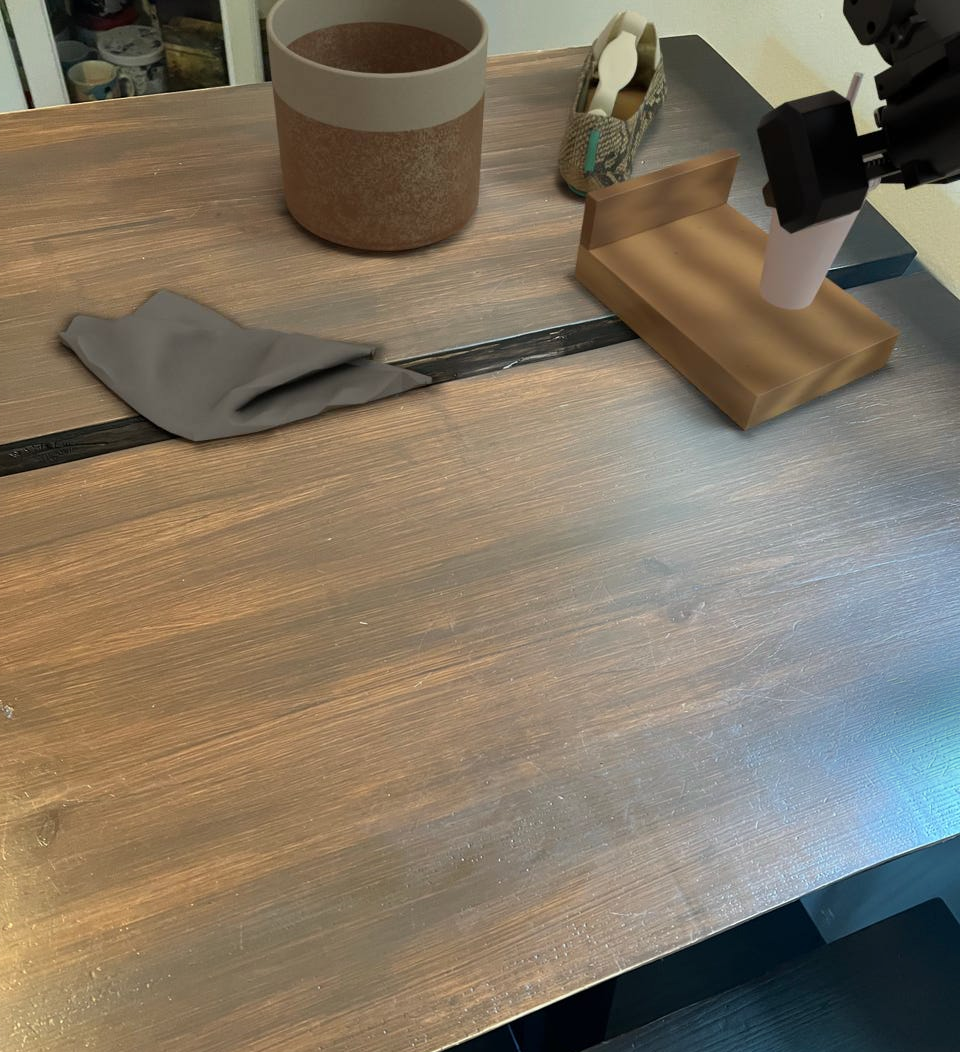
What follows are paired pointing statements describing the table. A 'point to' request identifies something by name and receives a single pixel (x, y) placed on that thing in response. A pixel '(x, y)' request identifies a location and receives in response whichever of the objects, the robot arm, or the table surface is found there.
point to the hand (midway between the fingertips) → (805, 185)
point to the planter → (379, 117)
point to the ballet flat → (613, 104)
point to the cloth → (225, 369)
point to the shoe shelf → (719, 294)
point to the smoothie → (805, 249)
